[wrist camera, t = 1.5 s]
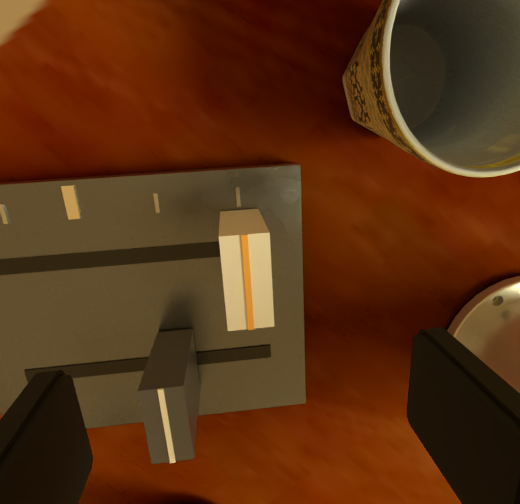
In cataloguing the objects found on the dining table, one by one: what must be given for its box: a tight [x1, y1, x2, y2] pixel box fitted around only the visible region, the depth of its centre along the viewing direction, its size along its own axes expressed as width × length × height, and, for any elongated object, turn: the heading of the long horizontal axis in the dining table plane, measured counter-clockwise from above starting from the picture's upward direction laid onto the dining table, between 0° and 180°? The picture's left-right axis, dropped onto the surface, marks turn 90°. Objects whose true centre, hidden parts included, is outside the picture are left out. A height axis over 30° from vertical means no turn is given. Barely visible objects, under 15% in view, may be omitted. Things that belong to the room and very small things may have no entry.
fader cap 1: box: [137, 329, 201, 464], centre depth 23 cm, size 2×5×6 cm, turn 3°
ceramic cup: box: [342, 0, 520, 177], centre depth 18 cm, size 13×10×10 cm
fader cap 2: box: [219, 209, 274, 331], centre depth 20 cm, size 2×5×6 cm, turn 3°
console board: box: [0, 163, 306, 429], centre depth 25 cm, size 22×18×2 cm
